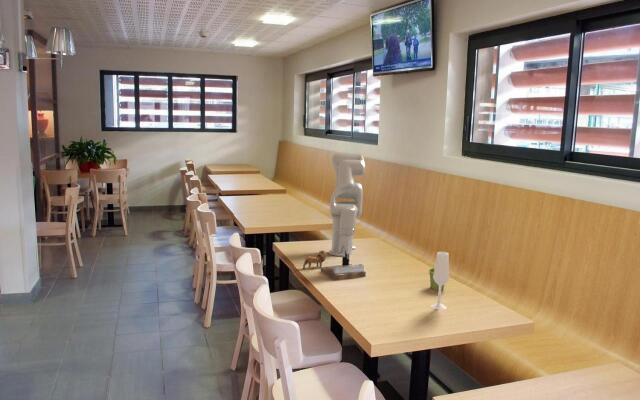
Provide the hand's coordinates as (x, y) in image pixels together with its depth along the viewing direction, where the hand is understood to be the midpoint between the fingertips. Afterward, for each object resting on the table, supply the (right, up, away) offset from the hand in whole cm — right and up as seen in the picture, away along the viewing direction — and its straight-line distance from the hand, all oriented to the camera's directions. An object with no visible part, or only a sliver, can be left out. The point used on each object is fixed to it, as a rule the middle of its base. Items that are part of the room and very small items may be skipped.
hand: (345, 265), depth 263 cm
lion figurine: (-16, -2, +8) cm, 18 cm away
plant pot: (+43, -9, -18) cm, 47 cm away
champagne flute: (+38, -13, -43) cm, 59 cm away
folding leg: (+1, -2, -7) cm, 7 cm away
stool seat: (-1, -4, -1) cm, 5 cm away
